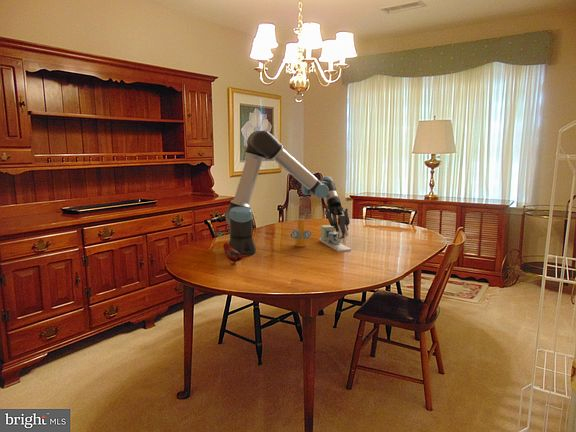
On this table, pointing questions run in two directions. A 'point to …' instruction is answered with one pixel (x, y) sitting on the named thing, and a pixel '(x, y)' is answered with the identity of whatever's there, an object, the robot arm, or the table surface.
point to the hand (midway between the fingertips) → (344, 235)
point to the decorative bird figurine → (232, 254)
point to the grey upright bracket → (342, 226)
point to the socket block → (326, 231)
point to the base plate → (336, 246)
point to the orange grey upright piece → (301, 233)
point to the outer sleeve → (331, 238)
